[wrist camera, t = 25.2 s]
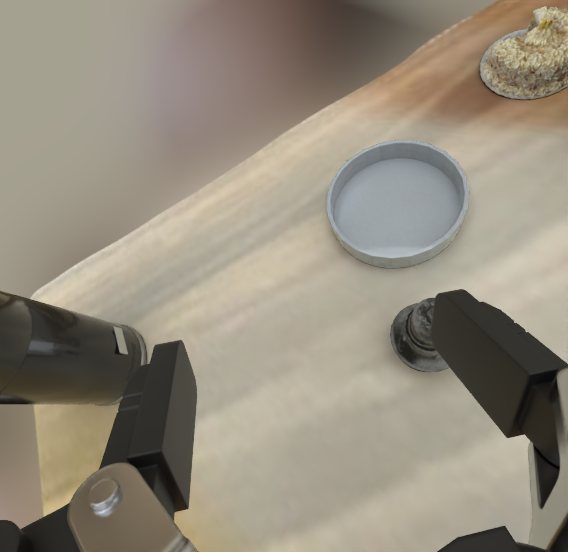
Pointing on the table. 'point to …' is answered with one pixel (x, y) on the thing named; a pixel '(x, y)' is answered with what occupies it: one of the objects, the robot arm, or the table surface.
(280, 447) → the table surface
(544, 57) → the cake
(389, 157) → the tin
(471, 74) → the table surface
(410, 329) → the dark grey chess piece
